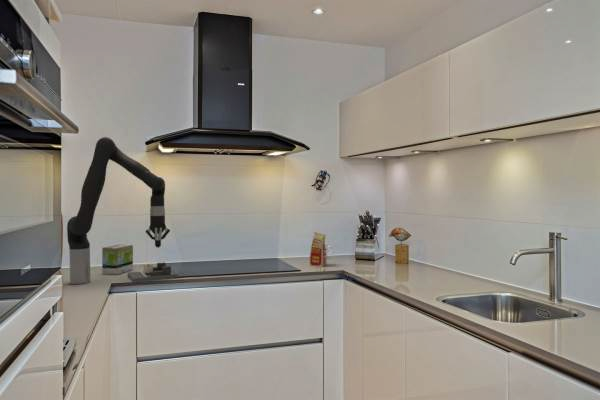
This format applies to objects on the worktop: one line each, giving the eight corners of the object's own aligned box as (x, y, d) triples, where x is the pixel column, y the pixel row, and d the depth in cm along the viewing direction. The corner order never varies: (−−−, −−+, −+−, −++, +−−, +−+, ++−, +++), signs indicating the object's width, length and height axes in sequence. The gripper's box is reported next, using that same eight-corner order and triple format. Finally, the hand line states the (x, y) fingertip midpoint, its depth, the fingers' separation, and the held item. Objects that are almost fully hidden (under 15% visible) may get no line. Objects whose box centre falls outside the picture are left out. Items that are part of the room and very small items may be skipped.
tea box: (118, 274, 246) (117, 247, 246) (101, 274, 248) (101, 247, 248) (133, 269, 261) (133, 244, 260) (118, 269, 263) (117, 243, 262)
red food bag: (309, 266, 267) (308, 232, 266) (313, 263, 275) (313, 231, 275) (324, 267, 264) (323, 233, 263) (328, 264, 272) (328, 231, 272)
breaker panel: (133, 282, 226) (132, 270, 226) (127, 276, 242) (127, 265, 241) (177, 278, 236) (177, 266, 236) (169, 272, 252) (169, 261, 252)
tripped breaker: (144, 274, 236) (144, 265, 235) (143, 273, 238) (143, 264, 238) (152, 273, 237) (152, 264, 237) (151, 272, 240) (151, 263, 240)
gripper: (168, 213, 246) (169, 245, 246) (143, 214, 239) (143, 247, 240) (171, 214, 239) (172, 247, 239) (145, 215, 233) (146, 249, 233)
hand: (157, 247), depth 240 cm, fingers closed
